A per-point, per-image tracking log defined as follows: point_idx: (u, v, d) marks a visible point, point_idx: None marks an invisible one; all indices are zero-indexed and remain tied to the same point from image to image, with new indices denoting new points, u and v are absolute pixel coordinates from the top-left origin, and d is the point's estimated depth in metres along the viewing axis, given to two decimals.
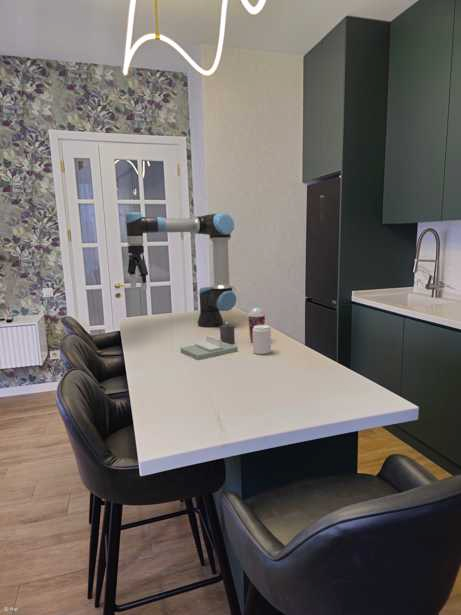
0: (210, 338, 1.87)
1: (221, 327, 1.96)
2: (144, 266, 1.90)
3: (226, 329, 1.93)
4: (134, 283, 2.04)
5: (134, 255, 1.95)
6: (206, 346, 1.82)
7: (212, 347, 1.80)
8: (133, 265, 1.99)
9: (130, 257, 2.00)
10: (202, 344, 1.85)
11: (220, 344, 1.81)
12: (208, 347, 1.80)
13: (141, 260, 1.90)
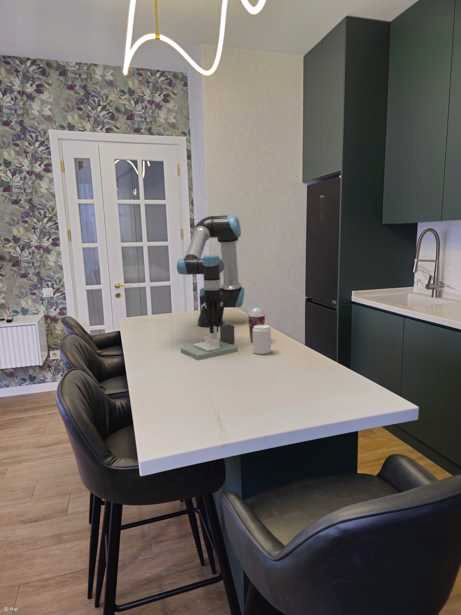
0: (208, 338, 1.86)
1: (221, 327, 1.96)
2: (205, 317, 1.81)
3: (226, 329, 1.93)
4: None
5: None
6: (204, 346, 1.81)
7: (210, 347, 1.79)
8: (213, 311, 1.84)
9: None
10: (200, 344, 1.85)
11: (218, 344, 1.80)
12: (206, 347, 1.79)
13: (202, 311, 1.80)
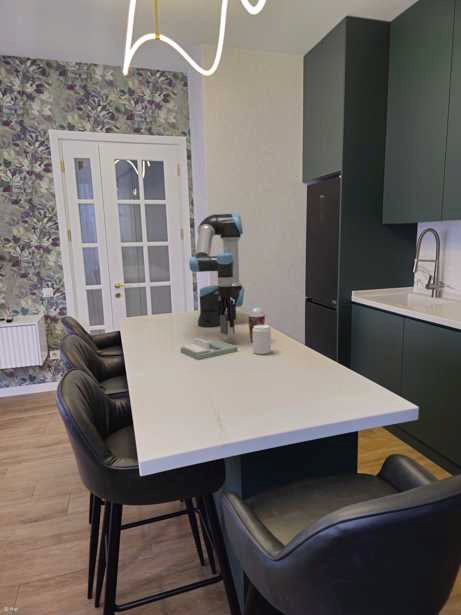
0: (198, 340, 1.83)
1: (221, 317, 1.96)
2: (234, 311, 1.90)
3: (226, 318, 1.93)
4: None
5: (224, 296, 1.93)
6: (193, 349, 1.78)
7: (199, 350, 1.76)
8: (223, 306, 1.96)
9: (218, 299, 1.98)
10: (189, 347, 1.82)
11: (207, 347, 1.77)
12: (195, 350, 1.76)
13: (232, 305, 1.89)
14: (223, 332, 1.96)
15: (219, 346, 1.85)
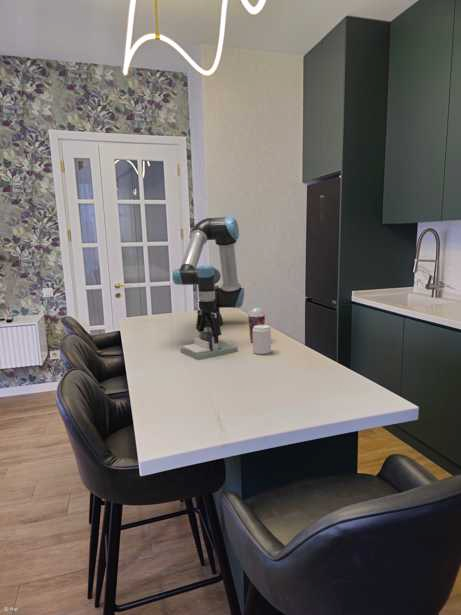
0: (198, 340, 1.83)
1: (202, 334, 1.83)
2: (217, 326, 1.76)
3: (207, 336, 1.80)
4: None
5: (205, 311, 1.80)
6: (193, 349, 1.78)
7: (199, 350, 1.76)
8: (203, 321, 1.84)
9: (199, 312, 1.86)
10: (189, 347, 1.82)
11: (207, 347, 1.77)
12: (195, 350, 1.76)
13: (215, 319, 1.76)
14: None
15: (219, 346, 1.85)
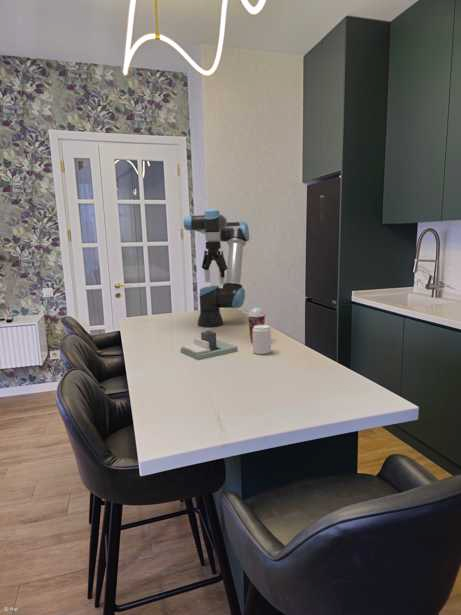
0: (198, 340, 1.83)
1: (202, 334, 1.83)
2: (223, 261, 1.96)
3: (207, 336, 1.80)
4: (208, 278, 2.09)
5: (211, 251, 2.01)
6: (193, 349, 1.78)
7: (199, 350, 1.76)
8: (209, 260, 2.05)
9: (206, 253, 2.06)
10: (189, 347, 1.82)
11: (207, 347, 1.77)
12: (195, 350, 1.76)
13: (220, 255, 1.96)
14: None
15: (219, 346, 1.85)
